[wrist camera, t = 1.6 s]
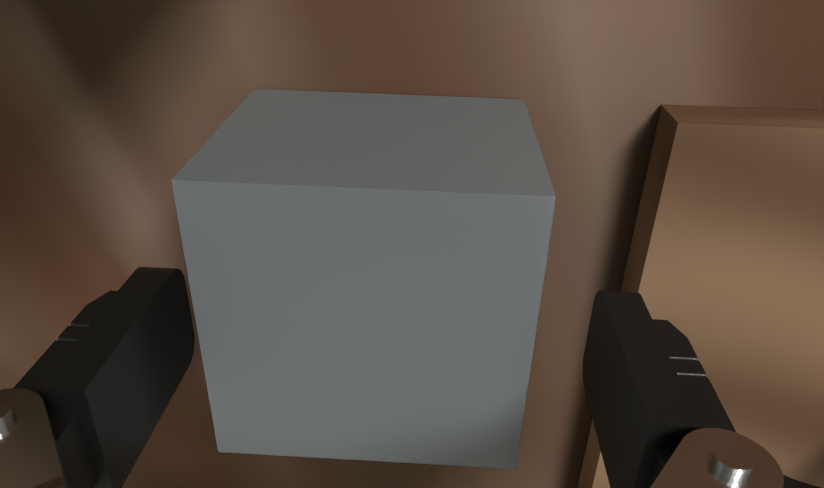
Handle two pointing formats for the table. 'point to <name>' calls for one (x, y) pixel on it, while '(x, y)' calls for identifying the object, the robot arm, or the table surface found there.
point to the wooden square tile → (739, 269)
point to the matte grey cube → (368, 274)
